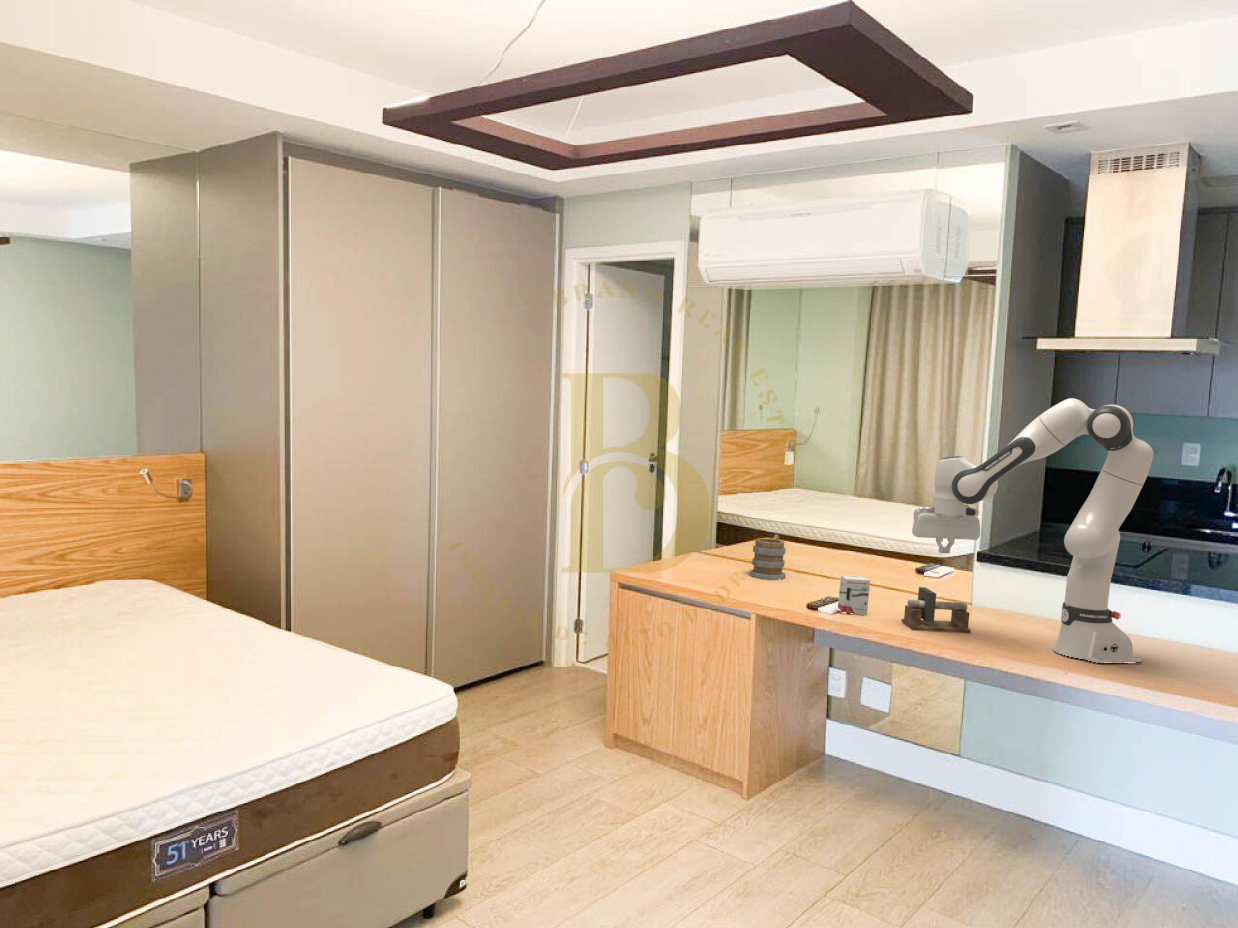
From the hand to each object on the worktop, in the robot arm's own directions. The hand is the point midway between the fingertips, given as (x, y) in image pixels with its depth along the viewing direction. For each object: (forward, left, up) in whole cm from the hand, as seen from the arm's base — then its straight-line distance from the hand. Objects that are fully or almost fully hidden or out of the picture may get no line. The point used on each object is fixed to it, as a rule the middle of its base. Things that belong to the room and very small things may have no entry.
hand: (944, 552), depth 284 cm
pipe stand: (+1, 0, -24) cm, 24 cm away
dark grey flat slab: (+4, 0, -21) cm, 21 cm away
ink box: (+23, -14, -24) cm, 36 cm away
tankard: (+38, -71, -24) cm, 84 cm away
